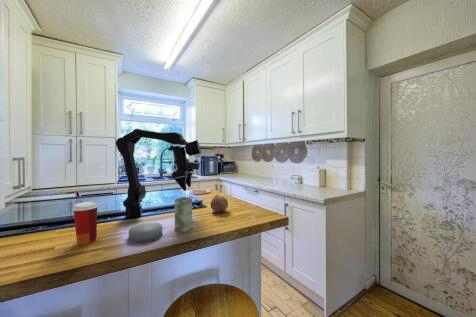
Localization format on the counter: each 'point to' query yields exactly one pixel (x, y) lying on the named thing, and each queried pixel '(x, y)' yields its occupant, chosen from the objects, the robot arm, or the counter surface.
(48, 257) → the counter surface
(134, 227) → the slate plinth
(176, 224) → the sage block
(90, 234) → the paper cup
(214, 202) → the onion
